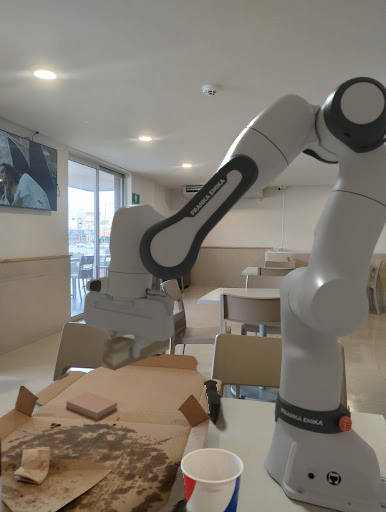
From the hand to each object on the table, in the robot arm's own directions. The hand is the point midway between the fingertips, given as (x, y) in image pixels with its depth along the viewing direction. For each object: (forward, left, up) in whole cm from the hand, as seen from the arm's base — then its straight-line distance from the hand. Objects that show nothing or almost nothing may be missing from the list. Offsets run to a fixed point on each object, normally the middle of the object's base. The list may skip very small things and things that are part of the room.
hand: (125, 354), depth 75 cm
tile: (+11, -9, -18) cm, 23 cm away
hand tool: (-9, -28, -19) cm, 35 cm away
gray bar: (0, -5, -2) cm, 5 cm away
